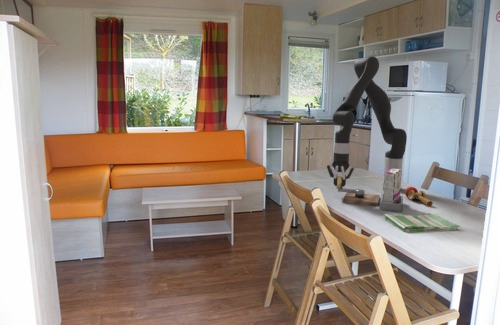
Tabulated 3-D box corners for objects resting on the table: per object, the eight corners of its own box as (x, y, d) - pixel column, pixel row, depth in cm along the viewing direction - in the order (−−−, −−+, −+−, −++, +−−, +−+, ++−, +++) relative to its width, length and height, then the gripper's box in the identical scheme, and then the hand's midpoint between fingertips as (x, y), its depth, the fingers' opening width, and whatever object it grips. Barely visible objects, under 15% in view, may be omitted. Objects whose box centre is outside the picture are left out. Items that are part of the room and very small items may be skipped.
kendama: (437, 208, 189) (415, 194, 206) (437, 196, 187) (415, 182, 204) (422, 212, 188) (401, 197, 205) (422, 200, 186) (401, 186, 203)
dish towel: (460, 231, 156) (461, 224, 155) (404, 233, 152) (405, 227, 152) (433, 217, 173) (434, 211, 173) (382, 219, 170) (383, 213, 169)
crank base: (379, 197, 202) (379, 194, 202) (377, 206, 187) (377, 202, 187) (346, 194, 207) (347, 191, 207) (342, 202, 193) (342, 199, 192)
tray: (402, 203, 192) (402, 196, 192) (402, 212, 178) (402, 204, 177) (381, 201, 196) (381, 194, 195) (379, 209, 181) (379, 202, 181)
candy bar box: (388, 201, 193) (391, 168, 190) (399, 203, 190) (402, 169, 187) (381, 207, 184) (384, 171, 181) (392, 208, 181) (395, 173, 178)
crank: (364, 195, 198) (365, 178, 197) (363, 197, 194) (364, 179, 193) (336, 192, 204) (337, 175, 202) (335, 194, 200) (336, 177, 198)
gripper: (357, 152, 198) (355, 186, 201) (329, 149, 204) (327, 183, 207) (354, 154, 191) (352, 189, 194) (325, 151, 197) (323, 186, 200)
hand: (339, 185), depth 200 cm, fingers closed on crank, 3 cm apart
